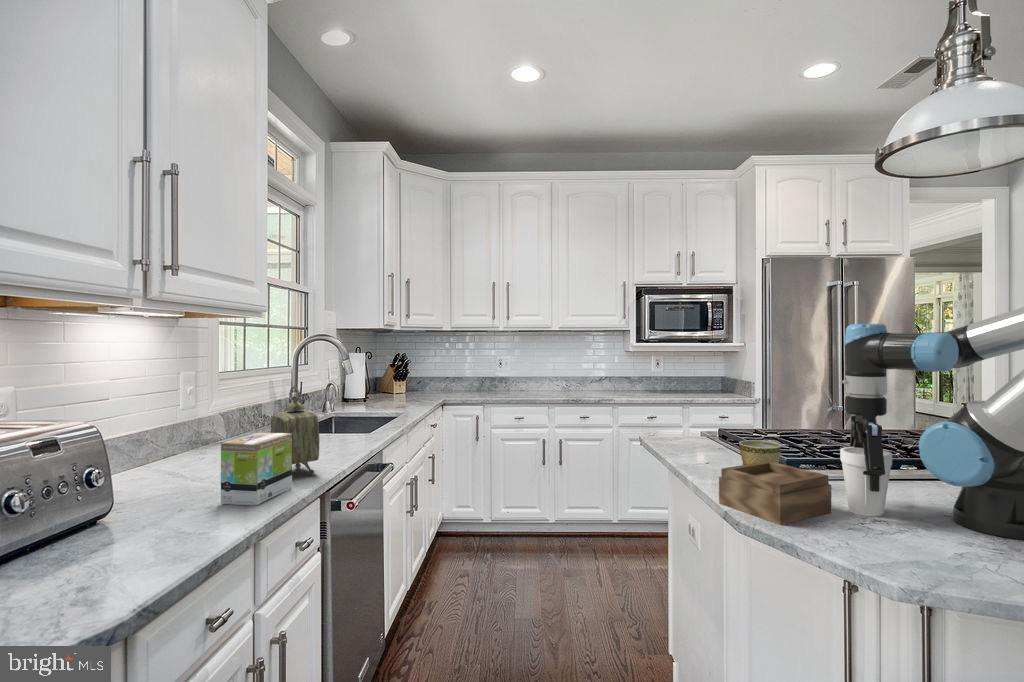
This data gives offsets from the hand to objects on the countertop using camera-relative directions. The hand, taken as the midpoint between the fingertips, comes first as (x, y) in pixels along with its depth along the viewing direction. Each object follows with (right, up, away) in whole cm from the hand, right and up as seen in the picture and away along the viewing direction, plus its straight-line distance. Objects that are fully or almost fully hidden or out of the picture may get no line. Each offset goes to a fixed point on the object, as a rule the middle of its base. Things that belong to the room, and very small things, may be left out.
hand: (865, 498), depth 120 cm
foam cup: (0, -3, 0) cm, 3 cm away
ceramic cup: (-11, -3, +25) cm, 27 cm away
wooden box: (-18, -3, +3) cm, 19 cm away
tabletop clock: (-138, -4, +39) cm, 144 cm away
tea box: (-139, -5, +18) cm, 140 cm away
